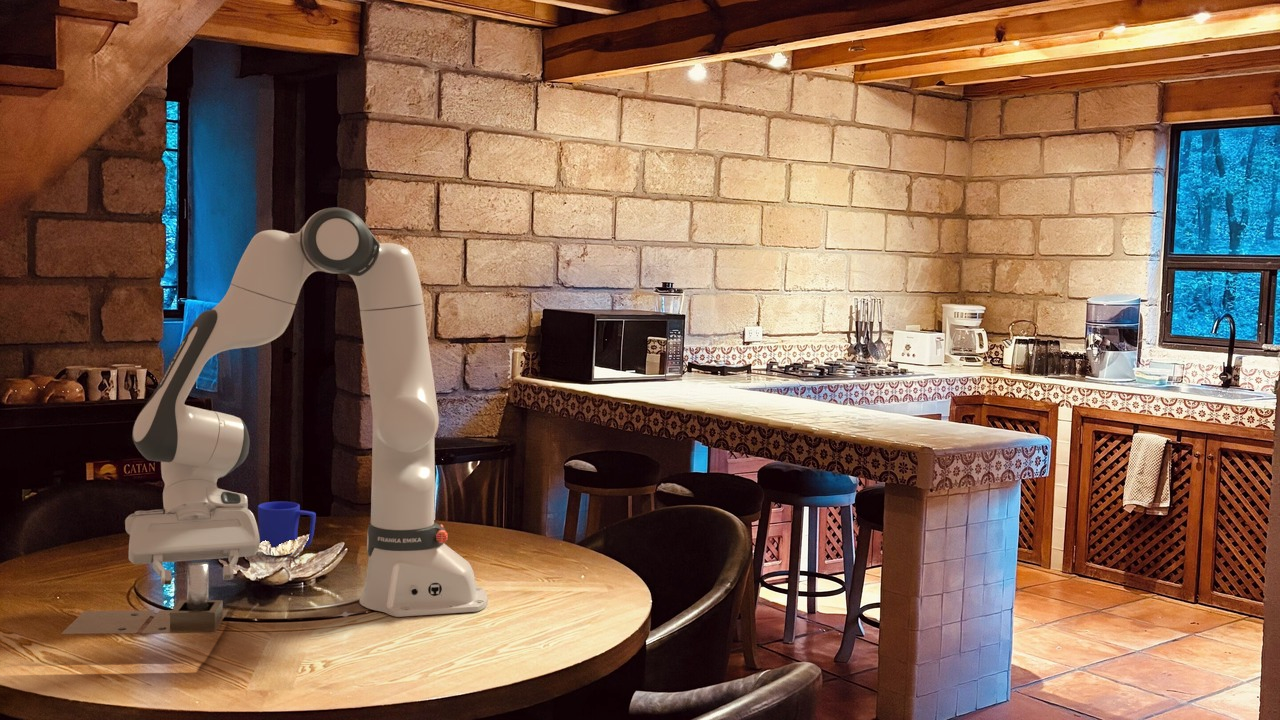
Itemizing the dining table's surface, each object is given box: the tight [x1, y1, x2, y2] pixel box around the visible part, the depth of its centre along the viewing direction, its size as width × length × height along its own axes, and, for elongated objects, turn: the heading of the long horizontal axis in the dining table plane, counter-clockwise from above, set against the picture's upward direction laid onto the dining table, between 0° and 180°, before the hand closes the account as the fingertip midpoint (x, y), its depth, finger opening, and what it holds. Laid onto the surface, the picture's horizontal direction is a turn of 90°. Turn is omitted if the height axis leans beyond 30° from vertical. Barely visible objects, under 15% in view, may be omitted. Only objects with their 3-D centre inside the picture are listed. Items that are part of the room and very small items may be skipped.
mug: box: [257, 501, 317, 549], centre depth 239 cm, size 8×12×10 cm
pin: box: [186, 561, 210, 611], centre depth 191 cm, size 3×3×9 cm
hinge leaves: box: [60, 599, 229, 635], centre depth 190 cm, size 23×12×4 cm, turn 99°
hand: (197, 580), depth 190 cm, fingers open, 8 cm apart
